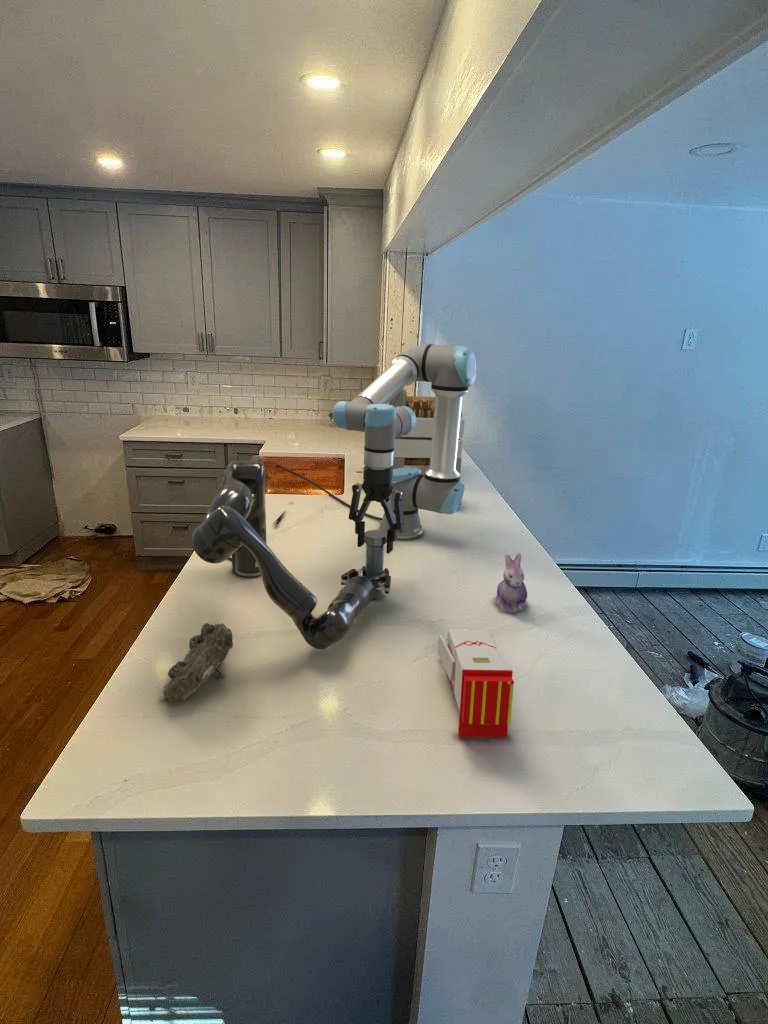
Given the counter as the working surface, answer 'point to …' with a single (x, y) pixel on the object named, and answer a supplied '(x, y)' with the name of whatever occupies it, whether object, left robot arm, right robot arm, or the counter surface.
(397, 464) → the grey slatted crate
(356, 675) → the counter surface
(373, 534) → the lid
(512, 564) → the figurine
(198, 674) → the fossil
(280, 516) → the feather
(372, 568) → the jar
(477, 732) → the toy
